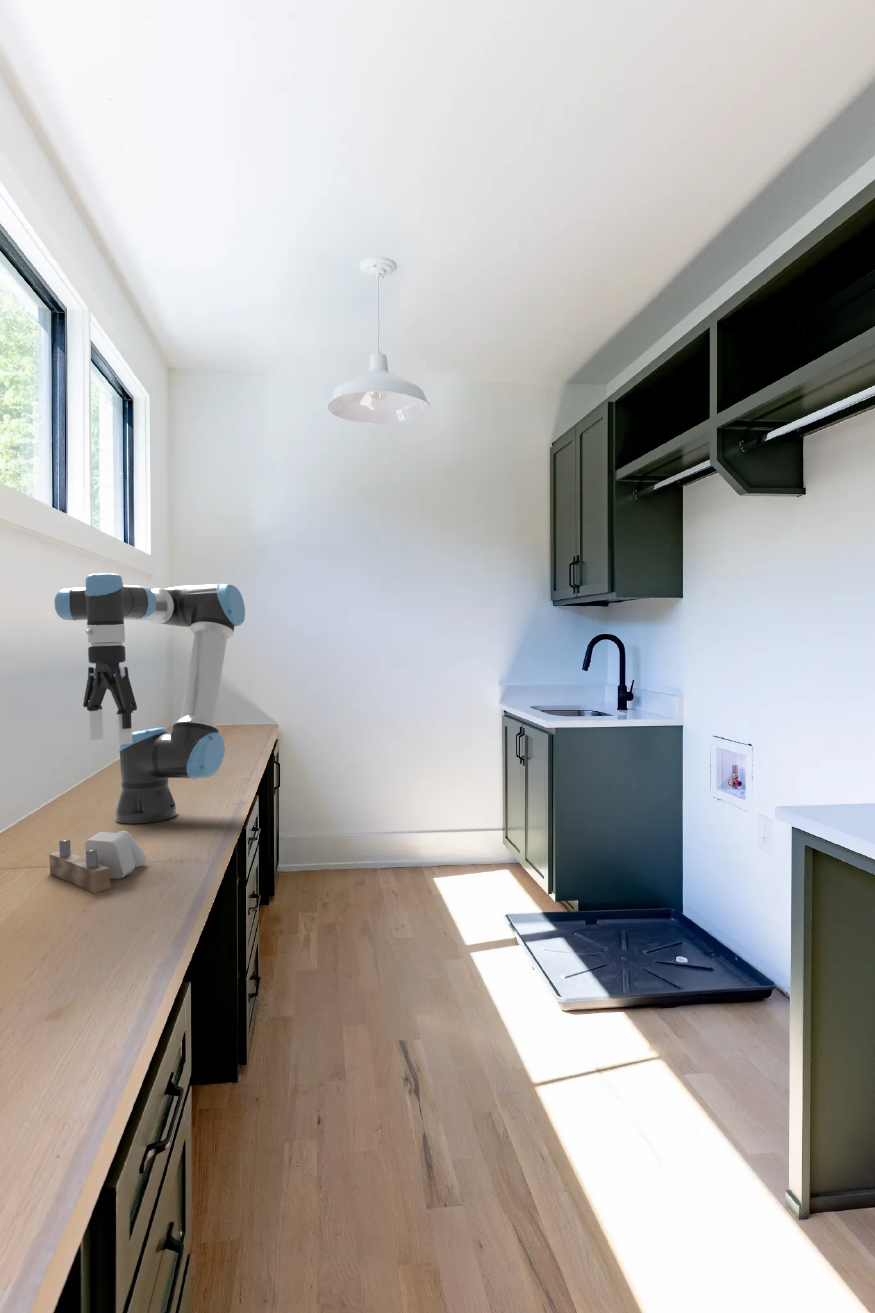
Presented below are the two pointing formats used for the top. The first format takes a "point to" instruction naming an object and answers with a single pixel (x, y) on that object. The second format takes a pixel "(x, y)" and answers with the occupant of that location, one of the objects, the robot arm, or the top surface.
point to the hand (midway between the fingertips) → (110, 741)
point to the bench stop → (79, 868)
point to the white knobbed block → (117, 852)
